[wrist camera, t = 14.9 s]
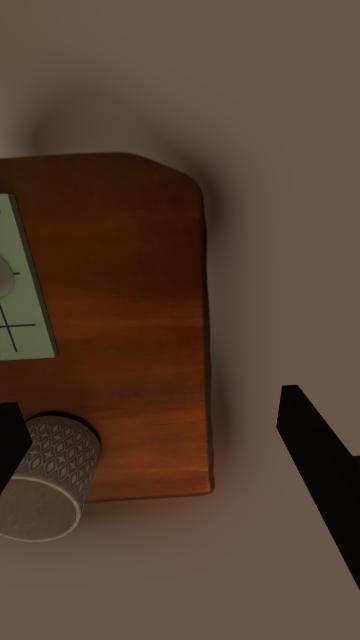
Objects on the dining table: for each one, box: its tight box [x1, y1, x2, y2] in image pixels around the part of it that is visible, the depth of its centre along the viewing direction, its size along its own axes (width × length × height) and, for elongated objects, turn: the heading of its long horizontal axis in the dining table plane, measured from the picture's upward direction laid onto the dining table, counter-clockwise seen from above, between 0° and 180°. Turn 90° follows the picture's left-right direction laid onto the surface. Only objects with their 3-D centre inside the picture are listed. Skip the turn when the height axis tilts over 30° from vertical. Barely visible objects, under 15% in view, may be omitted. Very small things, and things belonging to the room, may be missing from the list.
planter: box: [0, 416, 100, 542], centre depth 43 cm, size 16×16×13 cm
